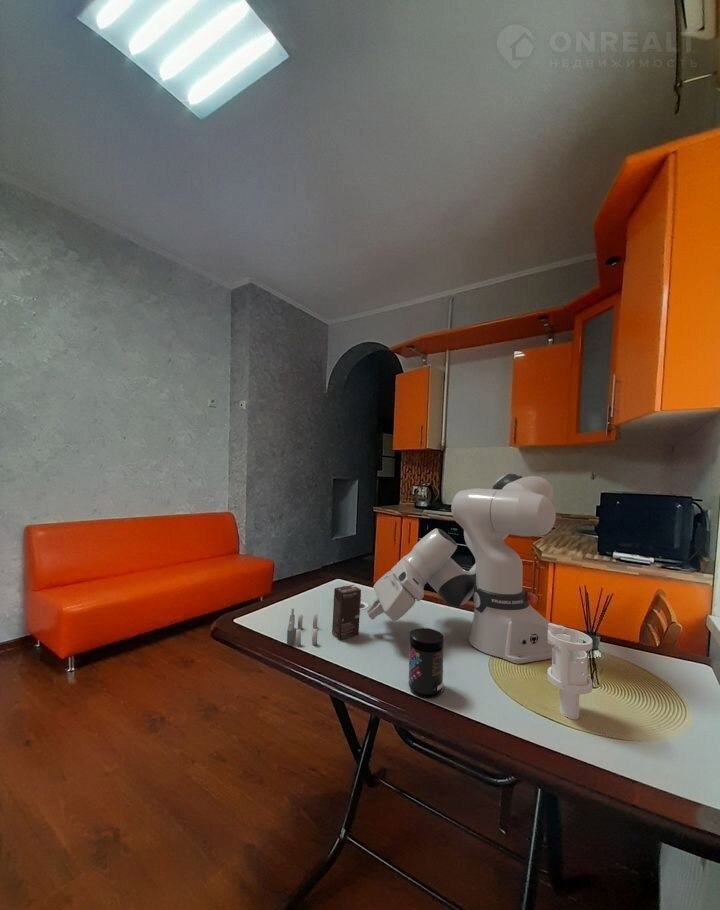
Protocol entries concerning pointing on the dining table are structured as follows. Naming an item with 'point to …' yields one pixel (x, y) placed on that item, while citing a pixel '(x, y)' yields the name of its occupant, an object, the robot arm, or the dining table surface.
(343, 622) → the box
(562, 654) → the white plastic upright piece
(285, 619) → the dining table surface
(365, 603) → the teacup and saucer
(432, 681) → the supplement container
